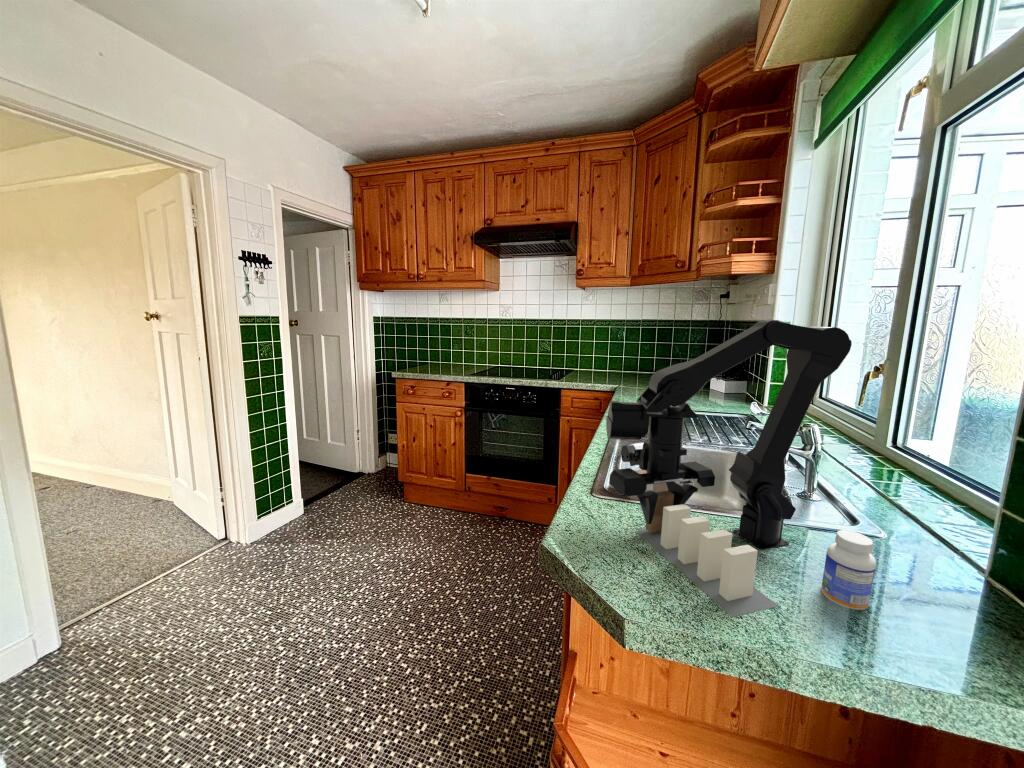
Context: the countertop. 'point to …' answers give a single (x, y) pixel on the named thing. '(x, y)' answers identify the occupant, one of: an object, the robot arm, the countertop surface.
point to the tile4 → (712, 553)
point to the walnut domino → (660, 510)
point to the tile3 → (691, 538)
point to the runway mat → (711, 586)
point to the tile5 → (738, 572)
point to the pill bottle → (849, 570)
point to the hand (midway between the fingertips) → (659, 521)
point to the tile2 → (673, 524)
